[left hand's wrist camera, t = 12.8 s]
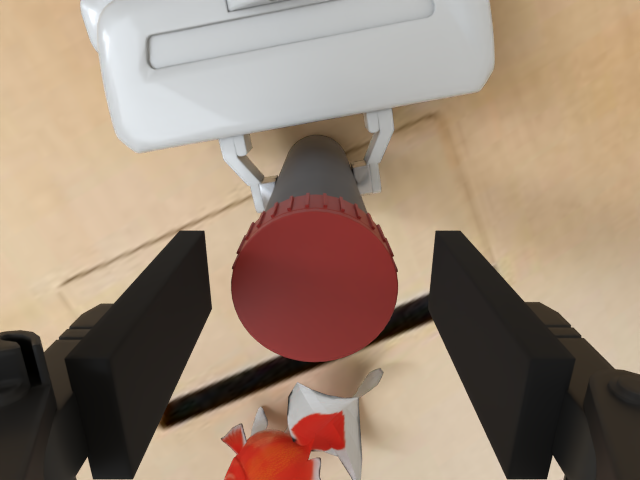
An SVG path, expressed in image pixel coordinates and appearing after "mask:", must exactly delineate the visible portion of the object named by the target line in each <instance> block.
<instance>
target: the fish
mask: <svg viewBox="0 0 640 480" xmlns="http://www.w3.org/2000/svg"><path fill="white" fill-rule="evenodd" d="M382 375H383V371H382V370H381V368H379V369H376V370H374V371H371V372H370V373H369V374H368V375H367V377H366V378H365V379H364V381H363V382H362V384H361V385H360V386H359V388H358V390H357V392H356V393H355V395H354V396H353V397H352V398H341V397H336V396H330V395H326V394H323V393H320V392H317V391H314V390H311V389H310V388H308V387H306V386H304V385H302V384H300V383H298V382H297V383H296V385H295V387H294V388H293V390H292V392H291V393H290V395H289V397H288V412H287V417H288V427H287V429H286V430H285V432H282V431H278V430H266V428H267V426H268V420H267V418H266V415H265V413H264V410H263V408H262V407H259V408H258V411H257V414H256V417H255V421H254V423H253V427H252V432H251V437H250V438H249V439H248V440H246V436H245V433H244V430H243V425H242V424H239V425H237V426H235V427H233V428H232V429H231V430H230V431H229V432H228V433H227V434H226V436H224V437H222V438H221V440H222V441H223V442H225V443H226V444H227V445H228V446H229V447H231V448H232V450H233V451H234V452H235V453H236V454H237V455H236V457H234V458H233V460H232V463H231V465H230V467H229V469H228V471H227V474H226V476H225V479H224V480H321V479H320V468H321V459H320V458H314V459H310V460H308V459H309V455H310V452H311V451H324V452H326V453H329V454H332V455H335V456H338V457H339V459H340V460H341V462H342V464H343V465H344V467H345V468H346V470H347V472H348V473H349V475H350V476H351V478H352V480H361V469H362V449H361V433H360V417H359V397H361V396H363V395H364V394H366V393H367V392H369V391H370V390H371V389H373V388H374V387H375V386H376V385H377V384H378V383H379V381H380V379H381V377H382Z"/></svg>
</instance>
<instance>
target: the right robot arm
mask: <svg viewBox="0 0 640 480" xmlns="http://www.w3.org/2000/svg"><path fill="white" fill-rule="evenodd" d="M80 9H81V14H82V17H83V20H84V23H85V26H86V29H87V33H88V36H89V39H90V41H91V43H92V45H93V47H94V49H95V50H96V51H97V53H98V54H99V62H100V68H101V74H102V80H103V85H104V90H105V95H106V100H107V104H108V108H109V112H110V116H111V120H112V124H113V127H114V130H115V133H116V136H117V137H118V139H119V140H120V141H121V142H123V143H124V144H125V145H126V146H127V147H129V148H130V149H131V150H133V151H134V152H136V153H145V152H150V151H156V150H161V149H167V148H172V147H178V146H183V145H189V144H195V143H200V142H206V141H211V140H217V139H219V143H220V147H221V151H222V155H223V159H224V161H225V162H226V163H227V164H228V165H229V166H230V167H231V168H232V169H233V170H234V171H235V172H236V174H237V175H238V176H239V177H240V178H241V179H242V180H243V181H244V182H245V183H246V184H247V185H248V186H250V187H251V191H252V196H253V200H254V204H255V208H256V211H257V213H262V212H263V211H265V209H266V206H267V204H268V201H269V199H270V197H271V194H272V192H273V189H274V187H275V184H276V182H277V179H278V175H276V176H270V177H264V175H263V174H262V173H261V172H260V171H259V170H258V168H257V167H256V166H255V165H254V164H253V163H252V161H251V160H250V159H249V158H248V157H247V156H246V155H247V154H248V153H249V151H250V150H251V149H252V143H251V139H250V133H255V132H261V131H266V130H272V129H277V128H283V127H289V126H294V125H300V124H305V123H311V122H316V121H322V120H327V119H333V118H338V117H344V116H349V115H355V114H360V113H363V116H364V123H365V128H366V129H367V130H368V131H369V132H370V133H373V136H372V138H371V141H370V144H369V146H368V149H367V151H366V154H365V157H364V160H361V161H356V162H351V169H352V173H353V175H354V178H355V181H356V184H357V186H358V189H359V192H360V194H361V196H362V195H368V194H374V193H380V192H381V182H380V174H379V167H378V163H380V162H381V160H382V157H383V155H384V153H385V150H386V148H387V146H388V143H389V141H390V139H391V136H392V134H393V132H394V123H393V113H392V108H394V107H399V106H405V105H410V104H416V103H421V102H427V101H432V100H438V99H443V98H449V97H454V96H460V95H465V94H471V93H476V92H479V91H480V90H481V89H482V88H483V87H484V85H485V84H486V82H487V81H488V79H489V77H490V75H491V74H492V72H493V69H494V65H495V49H494V34H493V23H492V14H491V7H490V0H80Z"/></svg>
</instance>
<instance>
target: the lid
mask: <svg viewBox="0 0 640 480" xmlns="http://www.w3.org/2000/svg"><path fill="white" fill-rule="evenodd" d="M237 254H238V255H237V257H236V260H235V262H234V264H233V266H232V269H233V273H232V279H231V292H232V300H233V303H234V307H235V310H236V312H237V315H238V317H239V319H240V321H241V322H242V324H243V326H244V327H245V328H246V330H247V331H248V332H249V333H250V335H251V336H252V337H253V338H254V339H256V340H257V341H258V342H259V343H260V344H262V345H263V346H264V347H266V348H267V349H269V350H271V351H273V352H274V353H277V354H279V355H281V356H284V357H287V358H290V359H294V360H299V361H307V362H324V361H330V360H336V359H339V358H343V357H346V356H348V355H351V354H353V353H355V352H357V351H359V350H361V349H362V348H364V347H365V346H367V345H368V344H369V343H371V342H372V341H373V340H374V339H375V338H376V337H377V336H378V335H379V334H380V333H381V331H382V330H383V329H384V328H385V326H386V325H387V323H388V322H389V320H390V318H391V316H392V313H393V311H394V308H395V305H396V301H397V295H398V279H397V272H398V270H397V267H396V265H395V262H394V260H393V256H394V255H393V252H392V250H391V248H390V245H389V243H388V241H387V238H385V237H384V234H383V232H382V230H381V227H380V225H379V224H378V225H376V224H375V223H374V222H373V220H372V218H371V215H370V214H369V213H367V214H366V213H365V212H364V211H362V210H361V209H359V208H358V205H357V204H356V203H355V204H354V205H353V204H351V203H349V202H347V201H345V200H343V197H339V198H337V197H332V196H327V194H326V193H323V195H310V193H306V195H303V196H297V197H293V196H290V198H289V199H287V200H285V201H283V202H281V203H278V202H276V203H275V204H274V206H273V207H272V208H270V209H269V210H268V211H266V212H265V211H263V212H262V213H261V215H260V218H259V219H258V220H257V221H256V222H255V223H254V222H252V224H251V226H250V228H249V230H248V232H247V234H246V235H245V236H244V238H243V240H242V242H241V244H240V246H239V249H238V251H237Z"/></svg>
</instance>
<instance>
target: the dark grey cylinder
mask: <svg viewBox="0 0 640 480" xmlns="http://www.w3.org/2000/svg"><path fill="white" fill-rule="evenodd" d="M306 193H310V195H323V193H326V194H327V196H332V197H337V198H339V197H343V200H345V201H347V202H349V203H351V204H353V205H354V204H355V203H356V204H357V205H358V208H359V209H361V210H362V211H364V212H365V213H366V214H367V211H366V208H365V205H364V203H363V200H362V197H361V194H360V192H359V189H358V186H357V184H356V181H355V178H354V175H353V173H352V170H351V167H350V165H349V162H348V159H347V156H346V154H345V152H344V150H343V149H342V147H341V146H340V145H339V144H338V143H337V142H336V141H334V140H333V139H331V138H329V137H326V136H321V135H312V136H308V137H305V138H303V139H301V140H299V141H298V142H297V143H295V144H294V145H293V147H292V148H291V149H290V151H289V153H288V155H287V157H286V160H285V162H284V165H283V167H282V170H281V172H280V174H279V177H278V179H277V182H276V184H275V187H274V189H273V192H272V194H271V197H270V199H269V201H268V204H267V206H266V209H265V212H266V211H268V210H269V209H270V208H272V207H273V206H274V204H275V203H276V202H278V203H281V202H283V201H285V200H287V199H289V198H290V196H293V197H297V196H303V195H306Z"/></svg>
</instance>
